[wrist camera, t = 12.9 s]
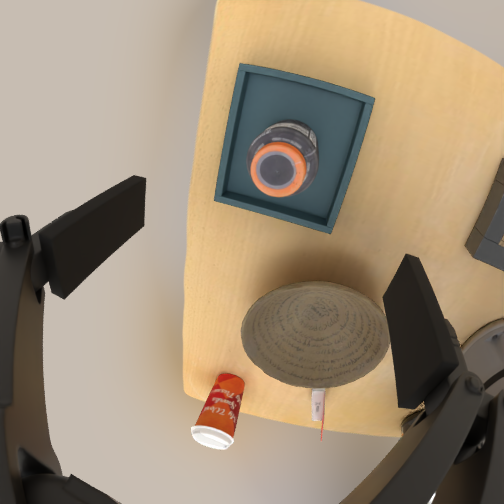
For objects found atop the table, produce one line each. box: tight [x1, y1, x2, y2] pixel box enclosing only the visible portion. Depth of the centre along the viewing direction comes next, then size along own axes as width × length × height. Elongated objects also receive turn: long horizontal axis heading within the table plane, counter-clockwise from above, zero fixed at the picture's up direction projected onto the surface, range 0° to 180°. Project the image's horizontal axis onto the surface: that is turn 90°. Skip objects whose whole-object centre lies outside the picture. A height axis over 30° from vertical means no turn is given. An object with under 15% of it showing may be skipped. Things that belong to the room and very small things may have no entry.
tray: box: [214, 63, 375, 234], centre depth 30 cm, size 16×14×2 cm
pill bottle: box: [246, 119, 319, 197], centre depth 25 cm, size 6×6×11 cm
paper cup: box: [191, 374, 244, 449], centre depth 49 cm, size 8×8×14 cm
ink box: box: [312, 388, 325, 441], centre depth 46 cm, size 2×11×10 cm, turn 9°
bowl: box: [241, 281, 390, 389], centre depth 37 cm, size 18×18×8 cm
